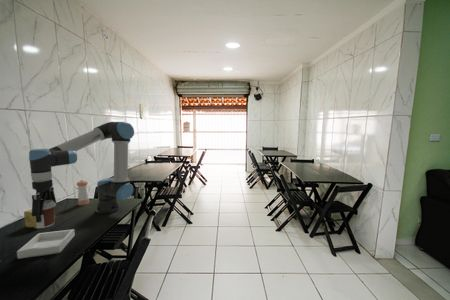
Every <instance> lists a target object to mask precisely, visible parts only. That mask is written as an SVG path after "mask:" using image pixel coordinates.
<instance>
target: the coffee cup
mask: <svg viewBox="0 0 450 300" xmlns="http://www.w3.org/2000/svg"><path fill="white" fill-rule="evenodd" d="M56 207H57V202H56V203H55V202H54V201H53V200H45V201H44V205H43V211H42V214H43V216H44V226H45V227H44V228H43V229H45V228H46V229H47V228H49V227H52V226H54V224H55V219H56V213H55V211H56Z"/></svg>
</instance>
